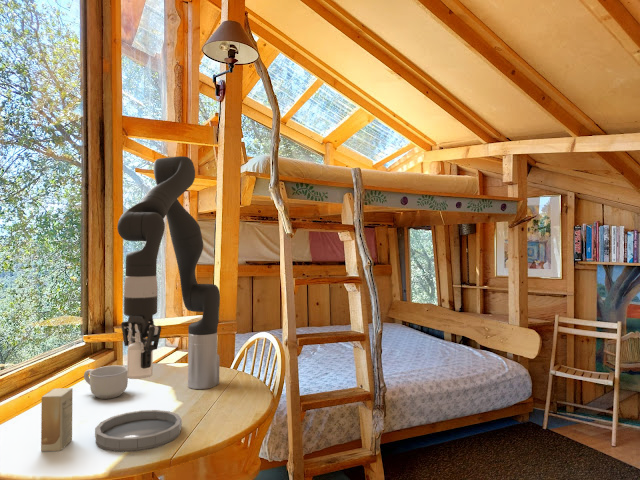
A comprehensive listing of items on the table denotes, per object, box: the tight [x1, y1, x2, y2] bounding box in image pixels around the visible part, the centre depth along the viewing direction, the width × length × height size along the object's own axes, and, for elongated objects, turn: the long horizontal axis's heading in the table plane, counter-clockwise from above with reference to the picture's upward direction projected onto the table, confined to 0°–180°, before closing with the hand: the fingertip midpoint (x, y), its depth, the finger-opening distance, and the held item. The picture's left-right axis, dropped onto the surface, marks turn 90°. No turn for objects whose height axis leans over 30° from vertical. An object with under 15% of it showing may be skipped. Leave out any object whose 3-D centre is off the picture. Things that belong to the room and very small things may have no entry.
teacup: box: [83, 365, 129, 400], centre depth 145 cm, size 14×11×8 cm
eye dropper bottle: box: [126, 333, 154, 380], centre depth 114 cm, size 4×6×12 cm
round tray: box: [94, 409, 183, 453], centre depth 114 cm, size 19×19×3 cm
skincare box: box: [40, 387, 74, 452], centre depth 108 cm, size 6×4×12 cm
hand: (140, 365), depth 114 cm, fingers closed on eye dropper bottle, 4 cm apart
